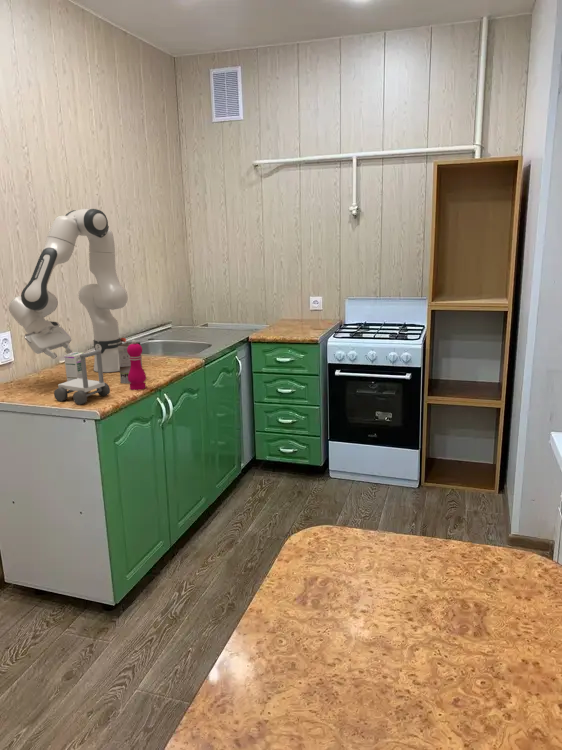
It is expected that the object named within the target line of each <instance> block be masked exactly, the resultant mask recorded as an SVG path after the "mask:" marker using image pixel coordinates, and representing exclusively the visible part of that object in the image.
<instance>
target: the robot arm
mask: <svg viewBox="0 0 562 750" xmlns="http://www.w3.org/2000/svg"><path fill="white" fill-rule="evenodd" d="M109 227H110V226H109V221H108V218H107V215H106V214H105V212H103V211H102V210H100V209H98V208H81V209H77V210H75V209H74V210H70V211H68V212H67V213H66V214H65V215H58V216H57V217H55V219H54V220H53V222H52V224H51V226H50V229H49V230H48V234H47V237H46V241H45V243H44V246H43V248H42V251H41V253H40V254H39V255H40V256H39V257H38V260H37V262H36V265H35V267H34V270H33V272H32V275H31V278H30V280H29V281H28V283H27V284H26V285H25V287H24V288H22V291H21V295H19V296H15V297H14V298H13V299H12V300H10V301H11V302H10V303H9V306H8V311H9V313H10V314H11V316H12V318H13V319H14V320H15V321H16V322H17V323H18V325H20V326H21V327H23V329H24V331H25V332H26V333H25V334H24V340H25V341H26V343H27V345H28V346H29V348H30V349H31V350H32V351H33V353H34V354H37V355H39V354H42V353H44V354H45V356H48V357H51V359H52V360H54V359H56V358H57V357H58V355H57V353H56V352H52V350H55V349H58V348H59V349H60V348H62V347H63V349H65V351H64V352H65V353H66V355H67V354H70V353H73V349H71V347H70V343H71V341H72V336H71V335H70V334H69V333H68V332H67V331H66V329H64V328H63V327H61V324H60V323H59V322H57V321H54V320H53V321H52V320H48V319H47V320H46V319H45V317H48V316H49V315H50V314H52V313H54V312H55V311H56V309H57V308H58V306H59V305H58V303H59V302H58V298H57V296H56V295H54V293H52V292H51V291H49V290H48V284H49V281H50V279H51V276H52V273H53V272H54V268H55V267H56V266H58V265H61V264H65V263H66V262H68V261H70V259H71V257H72V255H73V253H74V250H75V246H76V243H77V242H76V241H77V238H78V237H79V236H80V237H81V236H82V237H83V236H84V237H86V238H87V239H88V243H89V245H88V250H89V251H88V256H89V257H88V258H89V259H88V260H89V271H90V273H92V274H93V276H94V277H95V279H96V283H89V284H86V285H83V286H81V288H80V289H79V291H78V300H79V302H80V304H82V305H83V306H84V308H85V309H86V311H87V313H88V316H89V319H90V321H91V324H92V331H93V347H94V351H96V350H101V359H102V369H103V373H114V372H120V367H119V354H118V346H119V345H122V344H123V343H126V342H127V339H126V337H120V331H119V322H118V320H117V318H115V316H114V315H113V314H112V313H111V310H112V311H114V310H119V309H123V308H125V306H126V305H127V303H128V298H129V296H128V293H127V290H126V289H125V288H124V287H123V286H122V285H121V283H120V280H119V278H118V277H119V276H118V274H117V269H116V266H117V265H116V247H115V240H114V234H113V232H112V230H111V229H109ZM93 372H96V373H98V366H97V356H96V355H94V363H93Z"/></svg>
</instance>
